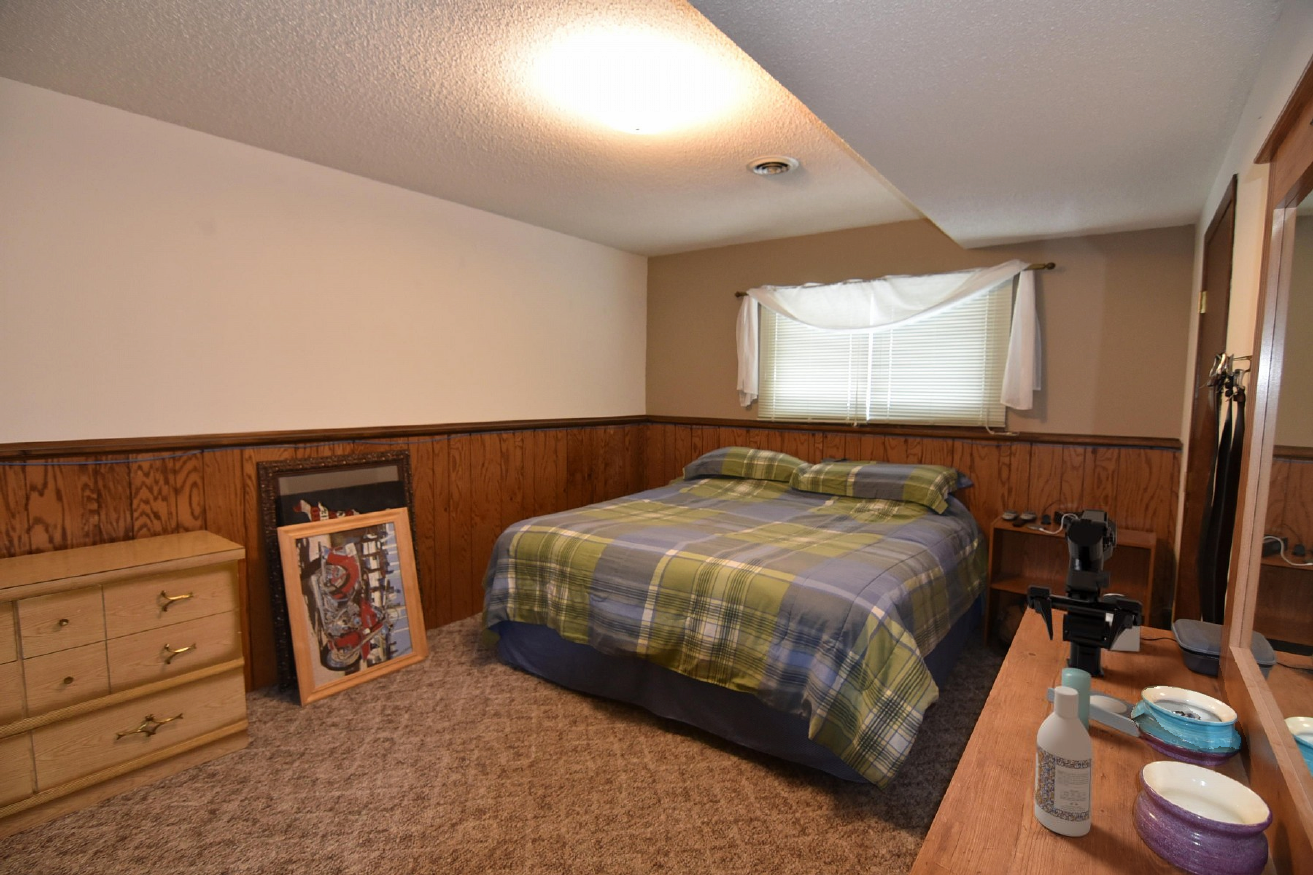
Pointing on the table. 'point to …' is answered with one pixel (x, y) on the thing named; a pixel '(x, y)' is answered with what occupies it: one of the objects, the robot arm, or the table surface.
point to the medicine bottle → (1129, 636)
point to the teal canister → (1079, 691)
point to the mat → (1111, 703)
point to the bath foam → (1064, 768)
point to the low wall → (1105, 717)
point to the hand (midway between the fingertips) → (1079, 644)
